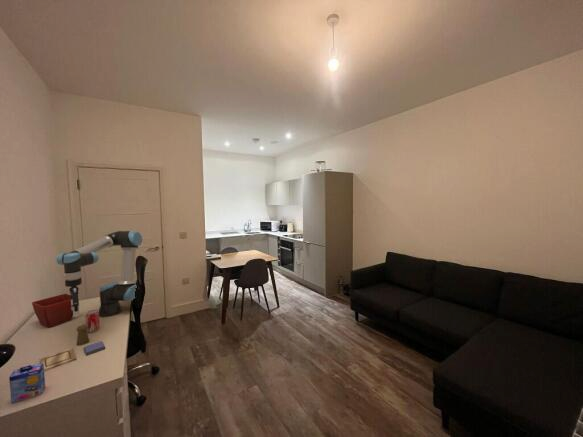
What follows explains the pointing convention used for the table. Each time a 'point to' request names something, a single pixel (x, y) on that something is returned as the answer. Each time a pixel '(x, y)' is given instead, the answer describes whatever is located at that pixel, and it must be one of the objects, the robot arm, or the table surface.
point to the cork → (82, 335)
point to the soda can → (92, 321)
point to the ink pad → (93, 348)
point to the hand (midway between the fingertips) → (75, 312)
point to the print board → (58, 359)
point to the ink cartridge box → (27, 382)
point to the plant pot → (53, 310)
